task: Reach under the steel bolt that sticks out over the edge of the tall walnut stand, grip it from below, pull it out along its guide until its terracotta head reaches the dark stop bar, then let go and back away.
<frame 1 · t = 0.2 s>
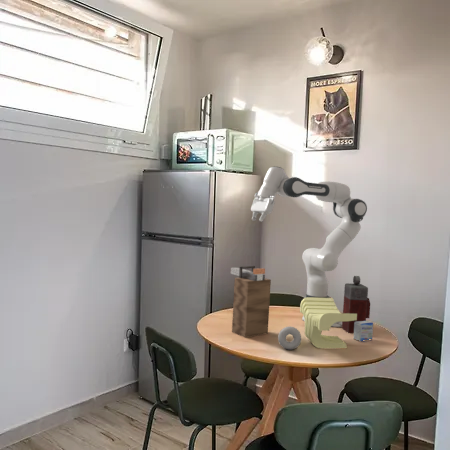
hand: (256, 220, 229), 53 cm above the table, tool tilted 20°, fingers open, 8 cm apart
slatted curved stool: (324, 344, 203), on the table
keeper bolt: (246, 271, 216), point 29 cm above the table, slide at 0.0 cm
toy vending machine: (355, 331, 227), on the table
medicine box: (362, 340, 212), on the table
stand: (249, 332, 214), on the table
donut: (289, 350, 192), on the table
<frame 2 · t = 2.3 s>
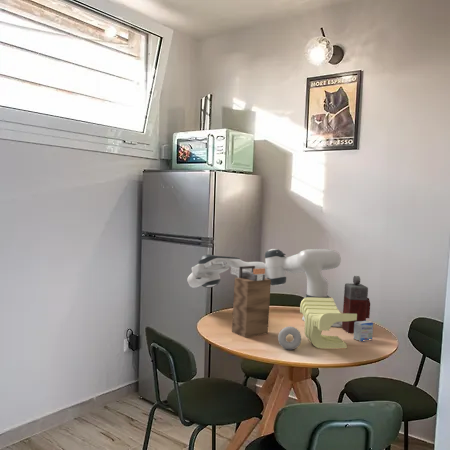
hand: (219, 262, 234), 30 cm above the table, tool pointing upward, fingers open, 8 cm apart
nothing on the table moved.
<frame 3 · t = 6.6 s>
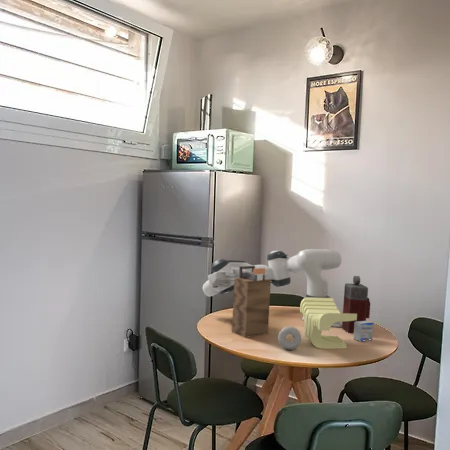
hand: (237, 270, 222), 28 cm above the table, tool pointing upward, fingers closed on keeper bolt, 3 cm apart
keeper bolt: (246, 271, 216), point 29 cm above the table, slide at 0.0 cm, touching gripper
everything else where it was.
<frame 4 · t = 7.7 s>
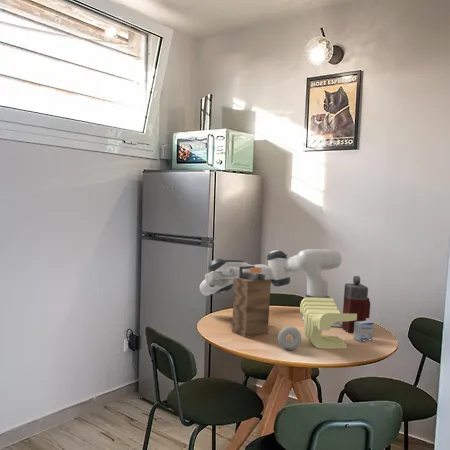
hand: (234, 269, 224), 28 cm above the table, tool pointing upward, fingers closed on keeper bolt, 3 cm apart
keeper bolt: (242, 270, 219), point 29 cm above the table, slide at 2.7 cm, touching gripper
everything else where it was.
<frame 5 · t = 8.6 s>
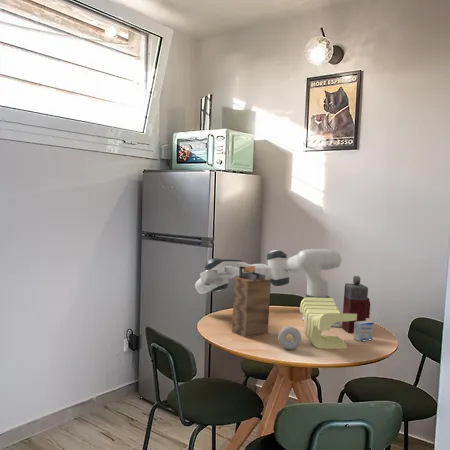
hand: (228, 268, 227), 28 cm above the table, tool pointing upward, fingers closed on keeper bolt, 3 cm apart
keeper bolt: (237, 269, 222), point 29 cm above the table, slide at 7.0 cm, touching gripper
everything else where it was.
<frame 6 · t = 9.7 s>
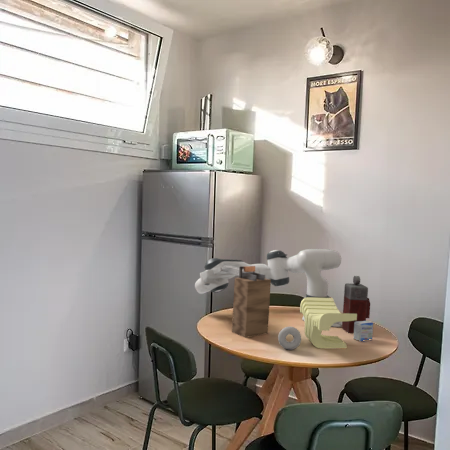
hand: (228, 268, 228), 28 cm above the table, tool pointing upward, fingers open, 8 cm apart
keeper bolt: (237, 269, 222), point 29 cm above the table, slide at 7.0 cm
everything else where it was.
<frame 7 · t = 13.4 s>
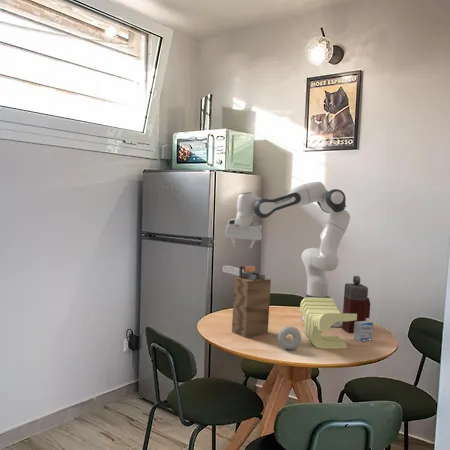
hand: (242, 247, 245), 38 cm above the table, tool pointing down, fingers open, 8 cm apart
nothing on the table moved.
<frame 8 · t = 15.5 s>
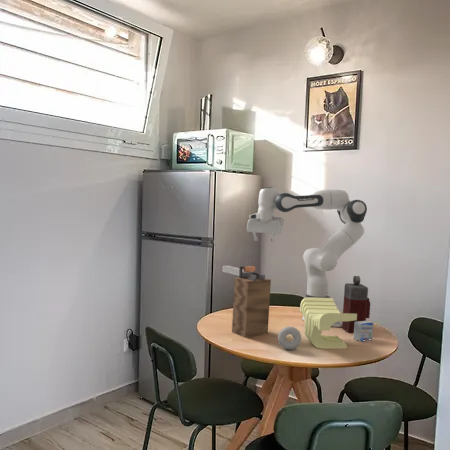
hand: (264, 241, 248), 41 cm above the table, tool pointing down, fingers open, 8 cm apart
nothing on the table moved.
at the end: keeper bolt slide at 7.0 cm; the gripper is holding nothing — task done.
